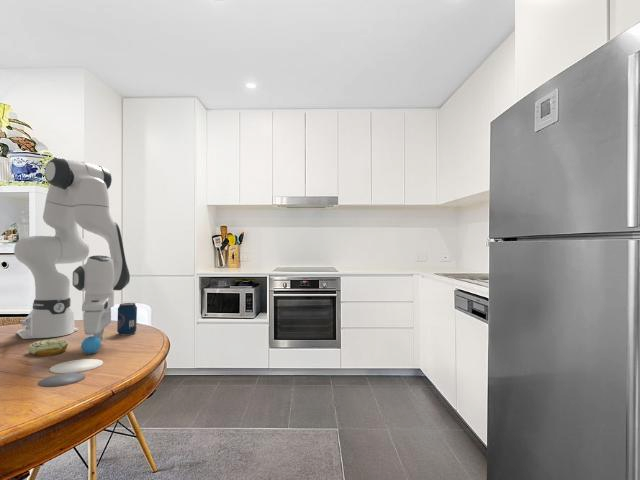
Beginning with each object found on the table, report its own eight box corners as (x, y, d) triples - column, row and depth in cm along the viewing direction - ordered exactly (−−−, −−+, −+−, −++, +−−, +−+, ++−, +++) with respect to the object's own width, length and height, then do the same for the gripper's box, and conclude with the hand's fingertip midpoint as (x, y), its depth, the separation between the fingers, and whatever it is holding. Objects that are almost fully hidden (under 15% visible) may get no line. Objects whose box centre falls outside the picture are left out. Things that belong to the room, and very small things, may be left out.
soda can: (113, 333, 151) (114, 304, 151) (130, 330, 156) (131, 302, 157) (123, 336, 147) (123, 305, 147) (139, 333, 153) (140, 303, 153)
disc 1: (31, 381, 96) (31, 380, 96) (74, 371, 104) (74, 370, 104) (49, 389, 90) (49, 388, 90) (92, 378, 99) (92, 377, 99)
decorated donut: (26, 359, 116) (27, 347, 116) (29, 351, 125) (29, 340, 125) (67, 354, 122) (67, 342, 122) (67, 347, 130) (67, 336, 131)
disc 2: (41, 367, 107) (41, 367, 107) (89, 357, 118) (89, 356, 118) (62, 376, 100) (62, 375, 100) (111, 364, 111) (111, 363, 111)
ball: (77, 354, 121) (78, 337, 121) (95, 350, 126) (95, 333, 126) (86, 356, 118) (86, 339, 118) (104, 352, 123) (104, 336, 123)
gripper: (97, 298, 139) (96, 336, 139) (80, 306, 120) (79, 350, 119) (116, 298, 141) (115, 335, 141) (102, 306, 122) (101, 348, 121)
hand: (98, 342), depth 130 cm, fingers closed
